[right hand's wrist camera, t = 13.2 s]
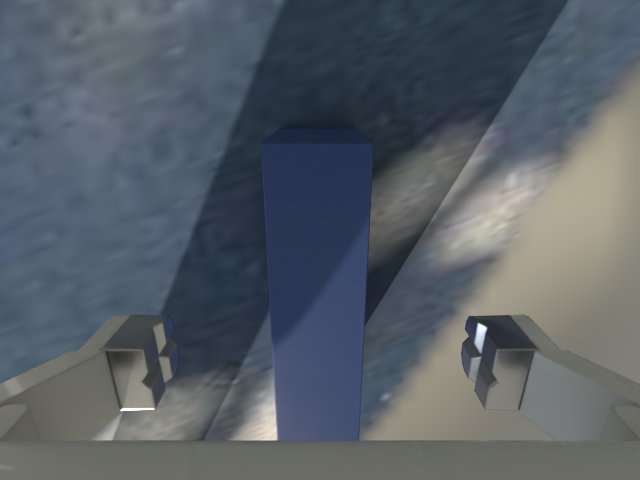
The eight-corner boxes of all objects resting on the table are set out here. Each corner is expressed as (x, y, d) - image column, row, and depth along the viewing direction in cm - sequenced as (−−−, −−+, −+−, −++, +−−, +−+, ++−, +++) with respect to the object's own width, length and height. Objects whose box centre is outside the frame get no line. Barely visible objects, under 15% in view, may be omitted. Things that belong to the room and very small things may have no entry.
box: (279, 128, 29) (260, 143, 20) (356, 128, 29) (373, 143, 20) (288, 353, 37) (277, 442, 27) (348, 353, 37) (358, 442, 27)
